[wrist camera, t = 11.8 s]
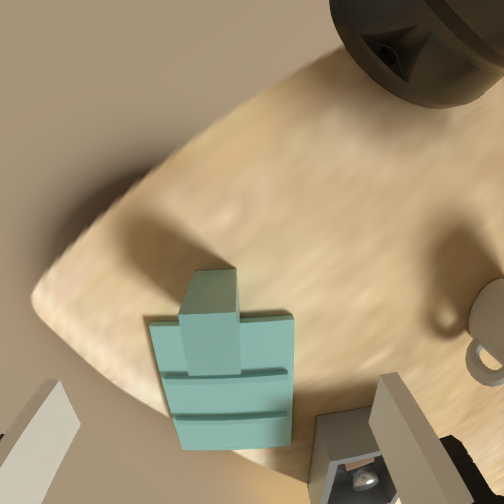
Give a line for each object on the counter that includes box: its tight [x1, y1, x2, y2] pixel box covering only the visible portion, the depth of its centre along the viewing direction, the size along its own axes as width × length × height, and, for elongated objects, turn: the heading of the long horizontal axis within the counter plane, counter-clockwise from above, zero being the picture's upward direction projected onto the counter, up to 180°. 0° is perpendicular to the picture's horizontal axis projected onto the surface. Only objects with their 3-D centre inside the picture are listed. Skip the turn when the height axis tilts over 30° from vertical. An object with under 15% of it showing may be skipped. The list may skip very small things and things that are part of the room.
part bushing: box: [348, 463, 379, 491], centre depth 27 cm, size 3×3×3 cm
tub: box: [307, 406, 399, 504], centre depth 26 cm, size 14×10×6 cm
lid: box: [149, 269, 294, 450], centre depth 22 cm, size 19×11×7 cm, turn 3°
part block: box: [344, 457, 374, 471], centre depth 26 cm, size 3×3×3 cm
